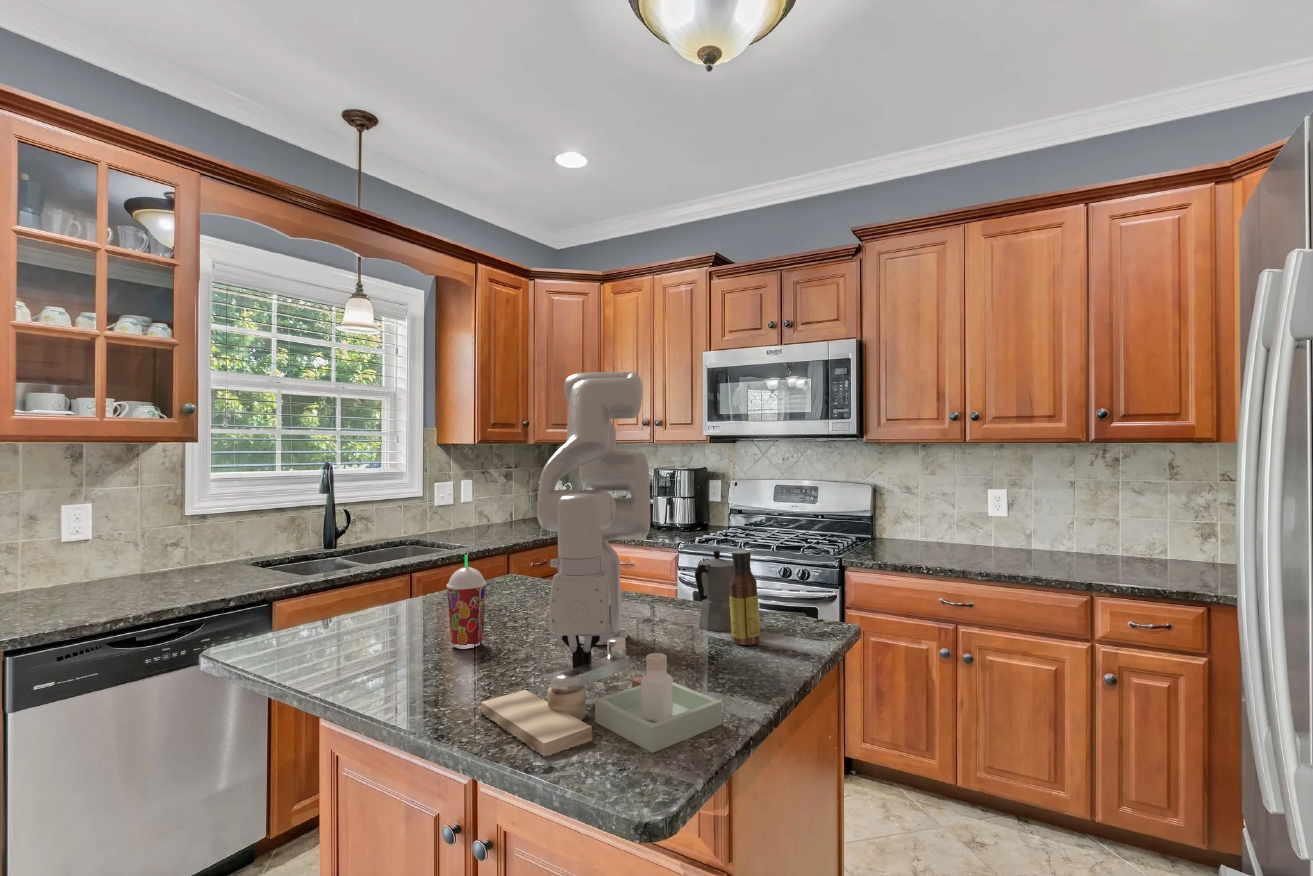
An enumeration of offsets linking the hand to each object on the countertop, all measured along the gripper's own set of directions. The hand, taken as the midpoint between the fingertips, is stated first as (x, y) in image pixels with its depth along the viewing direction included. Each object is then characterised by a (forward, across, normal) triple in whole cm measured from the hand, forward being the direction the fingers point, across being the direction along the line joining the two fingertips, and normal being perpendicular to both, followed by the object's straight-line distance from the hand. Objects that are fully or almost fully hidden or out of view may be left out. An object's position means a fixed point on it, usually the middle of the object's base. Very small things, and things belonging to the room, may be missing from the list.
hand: (582, 672), depth 112 cm
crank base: (+4, +2, -5) cm, 7 cm away
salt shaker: (+4, +14, -9) cm, 17 cm away
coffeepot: (+5, +22, +46) cm, 51 cm away
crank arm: (0, +2, -3) cm, 4 cm away
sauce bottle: (+5, +28, +34) cm, 44 cm away
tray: (+4, +14, -9) cm, 17 cm away
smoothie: (+5, -32, +28) cm, 43 cm away
